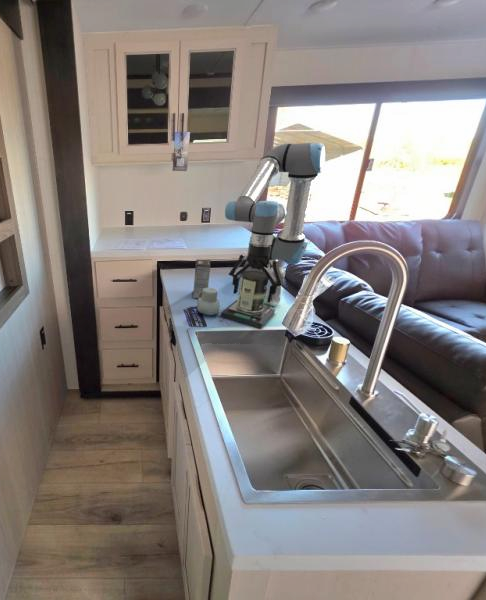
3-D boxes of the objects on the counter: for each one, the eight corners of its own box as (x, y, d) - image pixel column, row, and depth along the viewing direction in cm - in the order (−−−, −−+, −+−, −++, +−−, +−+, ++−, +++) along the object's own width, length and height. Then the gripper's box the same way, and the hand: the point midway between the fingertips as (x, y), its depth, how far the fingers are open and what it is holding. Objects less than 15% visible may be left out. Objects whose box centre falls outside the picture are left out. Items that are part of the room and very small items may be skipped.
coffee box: (193, 291, 152) (196, 258, 145) (206, 291, 151) (210, 259, 144) (192, 298, 143) (195, 264, 137) (207, 299, 142) (210, 265, 136)
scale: (236, 303, 138) (236, 298, 137) (274, 314, 129) (275, 308, 128) (220, 316, 127) (221, 311, 126) (261, 328, 117) (262, 323, 116)
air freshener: (219, 318, 125) (222, 295, 121) (197, 317, 126) (200, 294, 122) (216, 307, 135) (219, 285, 131) (196, 306, 136) (198, 284, 132)
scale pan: (240, 300, 136) (240, 298, 136) (271, 308, 129) (271, 306, 128) (227, 310, 127) (228, 308, 127) (260, 320, 119) (261, 317, 119)
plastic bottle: (272, 308, 133) (281, 263, 125) (259, 303, 139) (267, 259, 131) (282, 305, 136) (292, 261, 128) (269, 300, 141) (277, 257, 133)
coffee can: (262, 304, 130) (268, 271, 125) (263, 314, 121) (270, 280, 116) (236, 300, 133) (241, 269, 128) (236, 310, 124) (241, 277, 119)
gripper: (224, 241, 122) (218, 292, 130) (294, 252, 107) (282, 308, 116) (232, 238, 127) (226, 286, 135) (299, 247, 112) (287, 301, 121)
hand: (251, 296), depth 126 cm, fingers open, 13 cm apart
